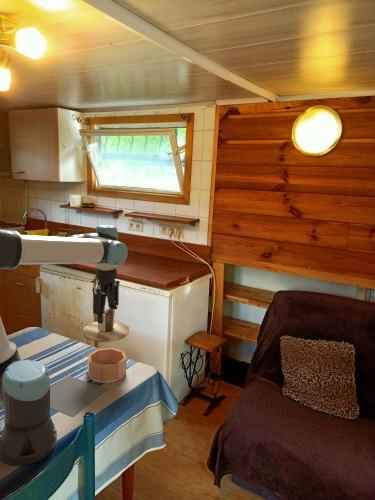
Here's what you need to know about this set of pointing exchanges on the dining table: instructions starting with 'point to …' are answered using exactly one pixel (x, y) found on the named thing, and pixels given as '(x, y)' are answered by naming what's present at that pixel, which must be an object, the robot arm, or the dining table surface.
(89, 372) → the bowl
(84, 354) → the dining table surface
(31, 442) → the robot arm
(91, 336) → the lid
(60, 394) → the mat
